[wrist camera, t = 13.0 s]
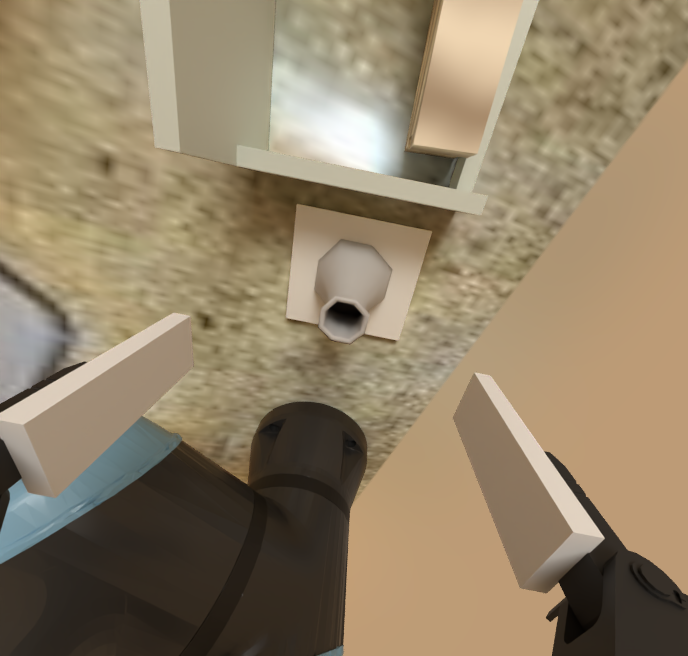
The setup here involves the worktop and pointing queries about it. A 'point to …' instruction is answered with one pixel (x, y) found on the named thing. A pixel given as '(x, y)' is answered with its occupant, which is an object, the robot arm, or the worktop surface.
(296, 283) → the mat
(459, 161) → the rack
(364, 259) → the flask
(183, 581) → the robot arm
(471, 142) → the light brown wooden block
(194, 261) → the worktop surface
